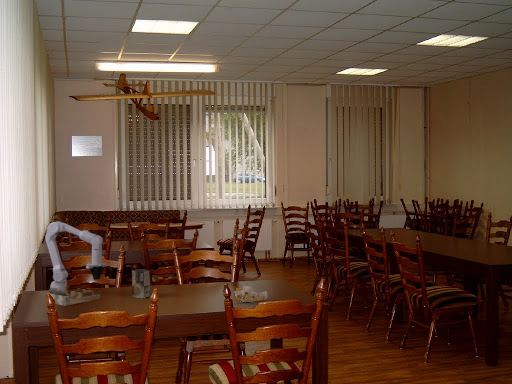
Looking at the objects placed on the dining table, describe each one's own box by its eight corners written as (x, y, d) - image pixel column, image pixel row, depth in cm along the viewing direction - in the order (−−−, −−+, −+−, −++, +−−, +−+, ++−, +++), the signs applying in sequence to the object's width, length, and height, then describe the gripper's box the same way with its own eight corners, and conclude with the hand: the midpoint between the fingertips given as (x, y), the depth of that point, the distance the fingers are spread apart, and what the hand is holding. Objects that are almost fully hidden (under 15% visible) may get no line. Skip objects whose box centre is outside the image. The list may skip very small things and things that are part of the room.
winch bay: (46, 303, 382) (46, 283, 382) (81, 296, 403) (81, 278, 402) (66, 306, 373) (66, 286, 373) (100, 299, 394) (100, 281, 393)
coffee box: (150, 297, 404) (151, 270, 404) (143, 298, 399) (143, 271, 398) (138, 295, 409) (139, 268, 408) (131, 297, 403) (131, 270, 403)
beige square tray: (70, 299, 392) (70, 291, 392) (82, 297, 399) (82, 289, 399) (81, 301, 387) (81, 293, 387) (93, 298, 394) (93, 291, 394)
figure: (272, 301, 396) (272, 285, 396) (254, 306, 381) (254, 289, 381) (247, 298, 406) (247, 282, 405) (229, 302, 391) (229, 286, 390)
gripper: (92, 258, 393) (92, 281, 393) (110, 255, 405) (110, 278, 405) (83, 257, 397) (83, 280, 397) (102, 254, 409) (102, 277, 409)
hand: (96, 279), depth 402 cm, fingers closed
